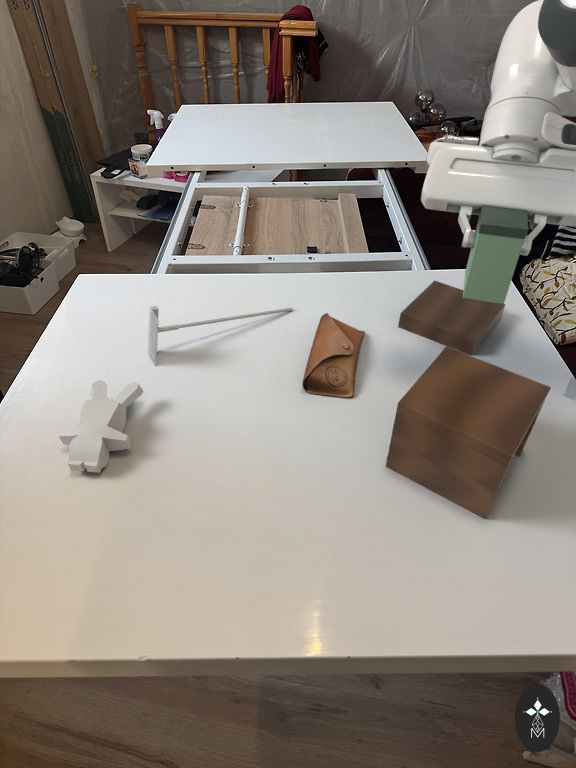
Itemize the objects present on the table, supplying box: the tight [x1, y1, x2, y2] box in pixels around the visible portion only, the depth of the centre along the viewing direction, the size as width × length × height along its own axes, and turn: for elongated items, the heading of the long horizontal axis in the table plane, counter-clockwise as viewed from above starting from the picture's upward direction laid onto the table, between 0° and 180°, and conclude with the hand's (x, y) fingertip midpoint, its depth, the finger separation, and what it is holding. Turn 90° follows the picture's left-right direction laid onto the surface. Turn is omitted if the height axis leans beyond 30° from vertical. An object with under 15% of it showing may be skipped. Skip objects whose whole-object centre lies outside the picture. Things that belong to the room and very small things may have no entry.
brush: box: [147, 305, 293, 366], centre depth 93 cm, size 4×27×9 cm, turn 119°
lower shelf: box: [397, 280, 506, 357], centre depth 96 cm, size 14×14×3 cm
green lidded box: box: [462, 206, 530, 304], centre depth 66 cm, size 7×5×10 cm
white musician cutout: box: [58, 380, 144, 473], centre depth 75 cm, size 10×5×15 cm
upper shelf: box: [385, 345, 552, 520], centre depth 69 cm, size 14×14×12 cm
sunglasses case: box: [302, 312, 366, 399], centre depth 88 cm, size 18×7×7 cm, turn 169°
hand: (495, 250), depth 65 cm, fingers closed on green lidded box, 5 cm apart
